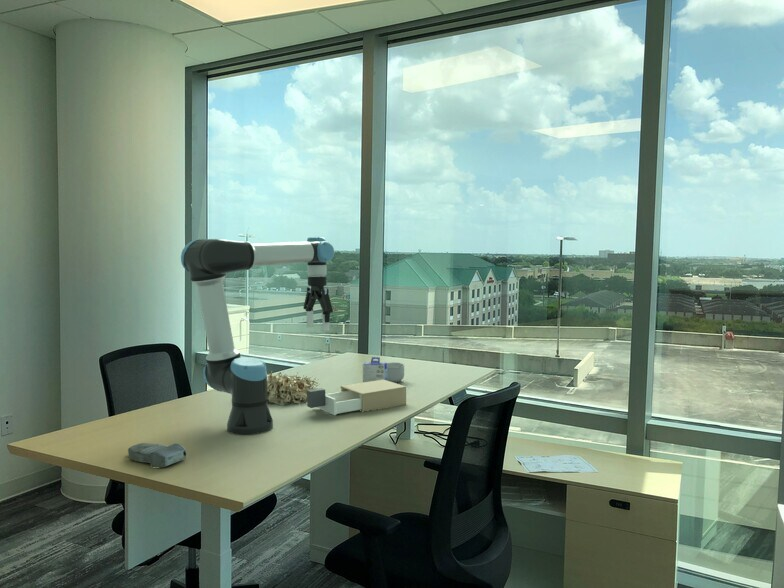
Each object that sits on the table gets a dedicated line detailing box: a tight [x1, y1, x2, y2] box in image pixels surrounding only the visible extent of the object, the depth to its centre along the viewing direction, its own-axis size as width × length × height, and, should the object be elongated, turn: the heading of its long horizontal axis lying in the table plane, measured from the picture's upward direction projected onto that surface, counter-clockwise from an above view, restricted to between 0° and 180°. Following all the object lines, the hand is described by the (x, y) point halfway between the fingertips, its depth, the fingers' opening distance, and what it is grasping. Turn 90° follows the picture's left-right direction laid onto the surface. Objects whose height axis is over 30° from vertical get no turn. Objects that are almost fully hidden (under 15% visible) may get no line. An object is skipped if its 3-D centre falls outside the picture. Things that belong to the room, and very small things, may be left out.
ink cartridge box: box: [362, 356, 388, 383], centre depth 259 cm, size 10×6×14 cm, turn 78°
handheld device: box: [127, 442, 187, 468], centre depth 176 cm, size 10×20×5 cm, turn 62°
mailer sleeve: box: [340, 380, 407, 412], centre depth 238 cm, size 20×16×7 cm
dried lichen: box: [267, 370, 320, 406], centre depth 249 cm, size 27×30×11 cm
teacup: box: [386, 362, 405, 384], centre depth 279 cm, size 14×11×8 cm
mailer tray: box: [306, 387, 362, 416], centre depth 229 cm, size 26×16×8 cm, turn 125°
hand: (317, 328), depth 244 cm, fingers open, 13 cm apart
